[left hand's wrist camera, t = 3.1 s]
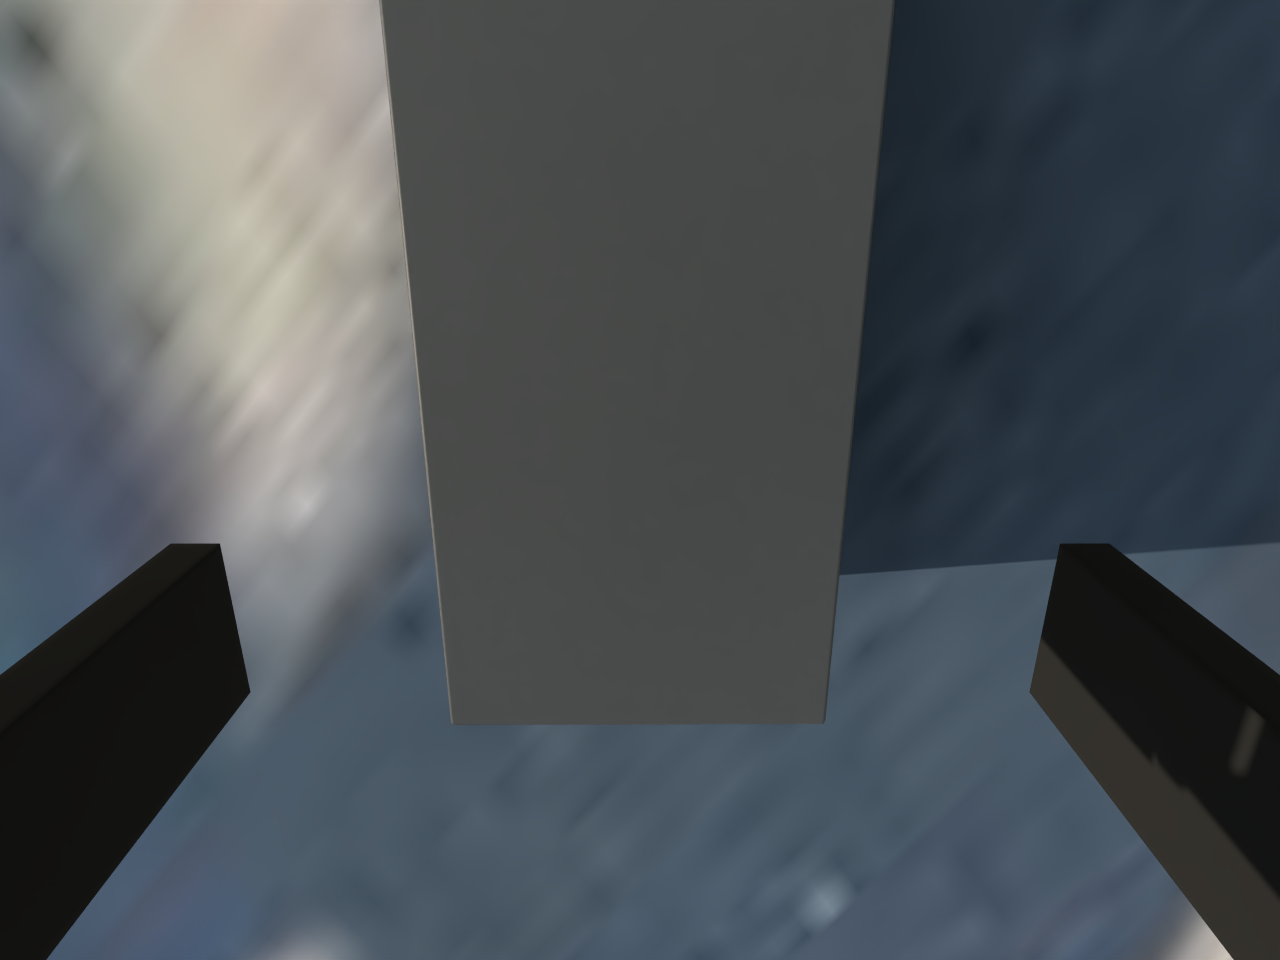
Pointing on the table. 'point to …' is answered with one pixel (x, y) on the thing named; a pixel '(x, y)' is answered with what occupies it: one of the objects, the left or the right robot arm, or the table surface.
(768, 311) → the wide beam
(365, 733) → the table surface
